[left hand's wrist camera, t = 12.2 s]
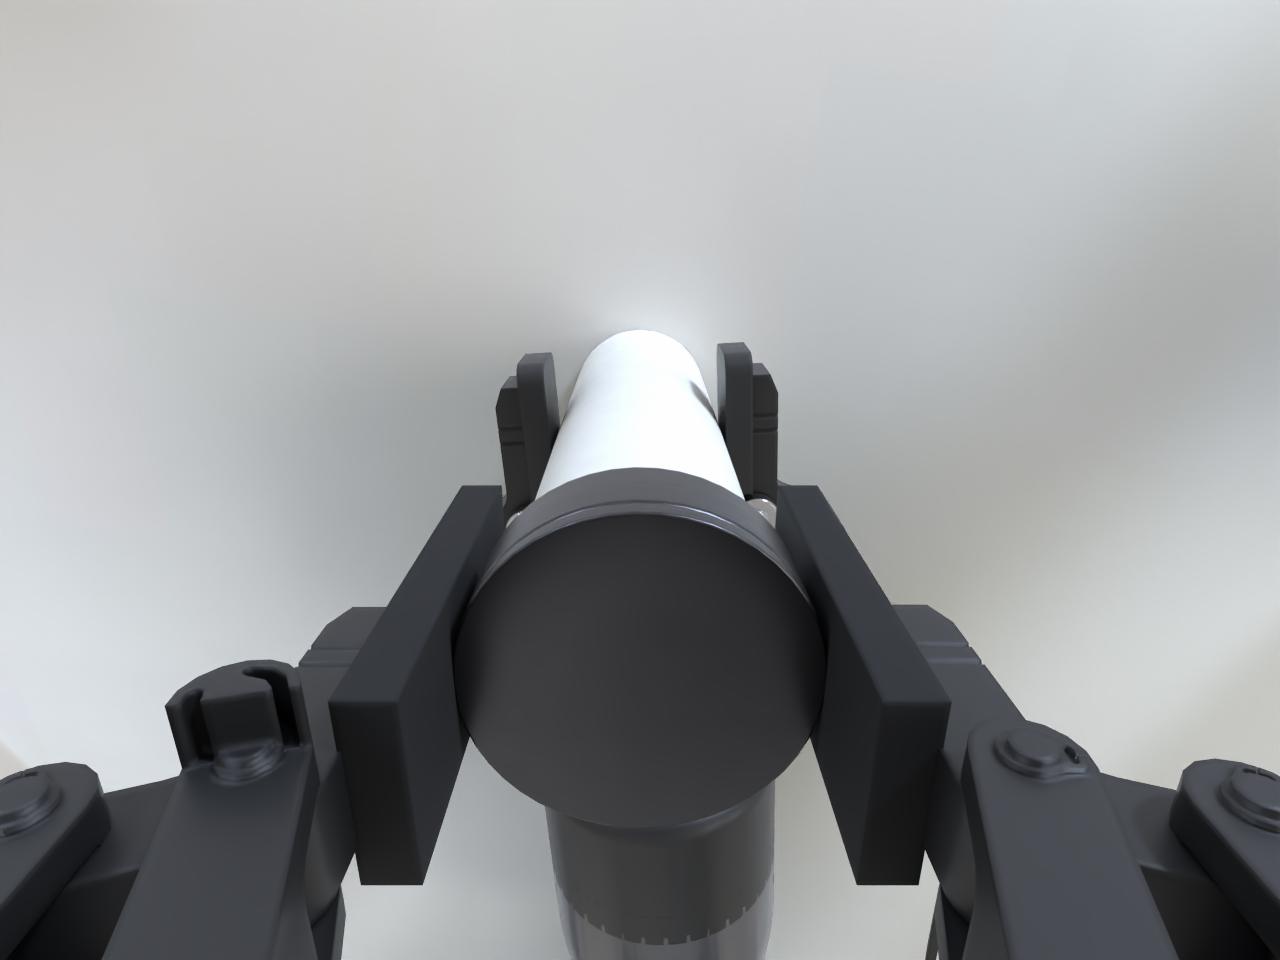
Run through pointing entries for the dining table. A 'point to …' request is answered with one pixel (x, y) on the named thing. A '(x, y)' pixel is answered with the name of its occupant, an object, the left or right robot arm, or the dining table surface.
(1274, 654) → the dining table surface
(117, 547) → the dining table surface
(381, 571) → the dining table surface
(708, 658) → the lid
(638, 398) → the cylinder
